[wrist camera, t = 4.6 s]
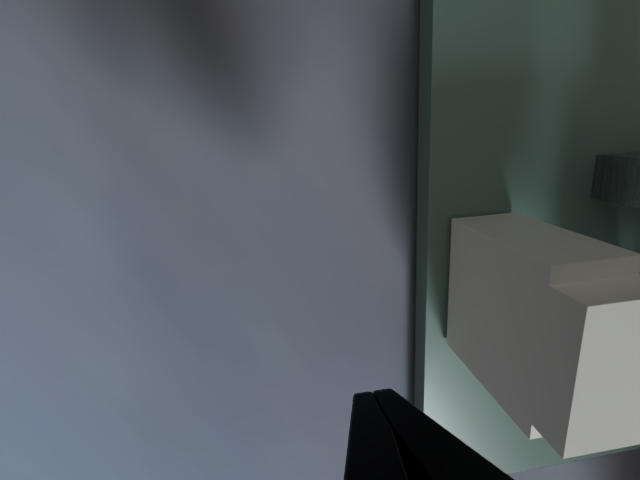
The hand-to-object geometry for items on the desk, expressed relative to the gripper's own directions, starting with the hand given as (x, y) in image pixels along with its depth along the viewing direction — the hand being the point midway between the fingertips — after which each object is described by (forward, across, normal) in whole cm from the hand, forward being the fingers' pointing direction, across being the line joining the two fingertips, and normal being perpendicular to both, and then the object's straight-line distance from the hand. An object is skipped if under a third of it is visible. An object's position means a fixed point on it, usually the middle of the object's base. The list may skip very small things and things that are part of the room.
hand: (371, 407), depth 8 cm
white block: (+5, -7, 0) cm, 9 cm away
